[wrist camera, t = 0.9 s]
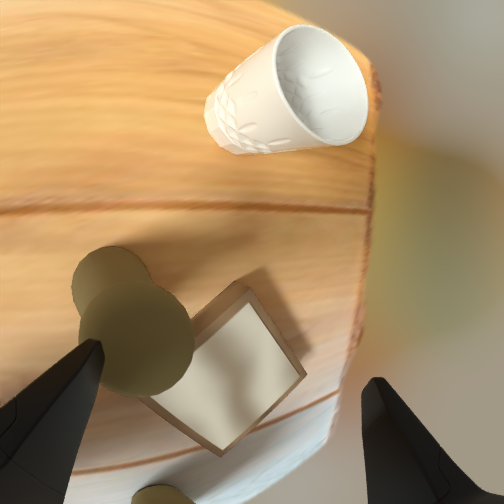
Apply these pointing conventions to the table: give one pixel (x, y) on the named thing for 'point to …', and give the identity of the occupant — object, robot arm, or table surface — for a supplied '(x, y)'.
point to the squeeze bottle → (160, 496)
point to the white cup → (290, 96)
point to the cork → (132, 323)
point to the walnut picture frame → (230, 373)
